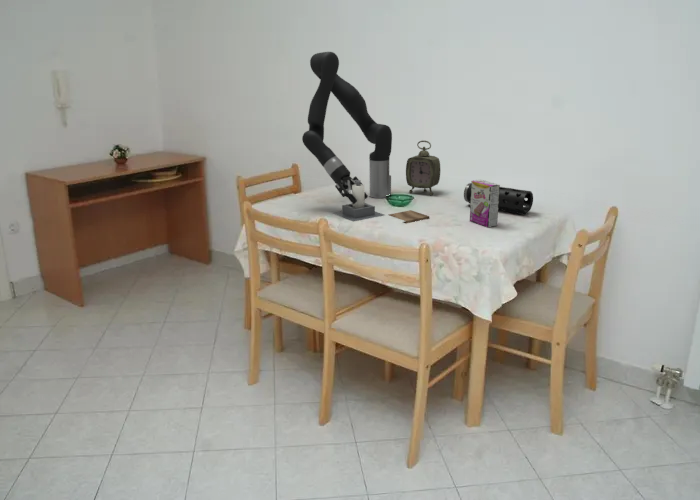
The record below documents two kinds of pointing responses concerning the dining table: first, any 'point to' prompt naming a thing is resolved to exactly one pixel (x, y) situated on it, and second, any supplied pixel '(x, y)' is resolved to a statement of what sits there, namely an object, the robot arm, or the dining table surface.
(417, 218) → the walnut board
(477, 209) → the candy bar box
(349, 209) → the socket block
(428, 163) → the tabletop clock
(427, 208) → the dining table surface
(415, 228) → the dining table surface
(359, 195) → the bottle
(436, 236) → the dining table surface
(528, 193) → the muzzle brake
